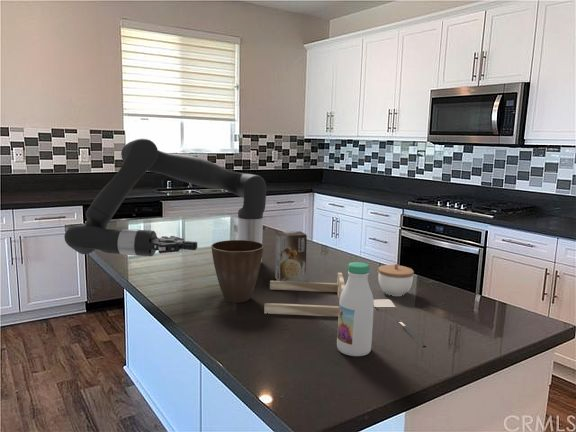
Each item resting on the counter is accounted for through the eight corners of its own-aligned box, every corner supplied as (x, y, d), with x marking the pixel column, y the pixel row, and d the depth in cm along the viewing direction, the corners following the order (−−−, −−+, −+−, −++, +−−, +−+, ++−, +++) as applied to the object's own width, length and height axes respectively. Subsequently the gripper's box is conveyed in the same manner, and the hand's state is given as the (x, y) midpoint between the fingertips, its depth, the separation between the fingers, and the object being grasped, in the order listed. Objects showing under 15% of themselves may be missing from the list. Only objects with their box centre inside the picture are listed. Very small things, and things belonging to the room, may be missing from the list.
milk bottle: (367, 342, 108) (372, 259, 105) (374, 357, 101) (380, 269, 97) (334, 341, 108) (338, 259, 105) (339, 357, 100) (344, 268, 97)
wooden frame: (270, 288, 145) (270, 269, 144) (340, 291, 144) (341, 272, 143) (264, 313, 124) (264, 292, 123) (346, 317, 123) (348, 295, 122)
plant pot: (202, 304, 129) (202, 248, 127) (222, 288, 144) (222, 237, 141) (253, 310, 126) (254, 253, 123) (268, 293, 140) (269, 242, 138)
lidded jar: (370, 289, 147) (372, 260, 146) (399, 286, 151) (401, 258, 150) (389, 300, 137) (391, 270, 136) (419, 297, 141) (421, 267, 140)
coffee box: (300, 276, 158) (302, 230, 156) (306, 282, 152) (307, 234, 150) (274, 277, 156) (275, 231, 153) (279, 283, 150) (280, 235, 147)
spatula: (389, 303, 136) (390, 299, 136) (436, 348, 107) (437, 342, 107) (369, 304, 135) (370, 299, 135) (411, 349, 106) (412, 343, 106)
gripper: (128, 234, 127) (191, 237, 126) (145, 226, 140) (202, 229, 139) (129, 260, 128) (191, 264, 127) (145, 250, 141) (201, 253, 140)
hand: (196, 245), depth 133 cm, fingers closed
